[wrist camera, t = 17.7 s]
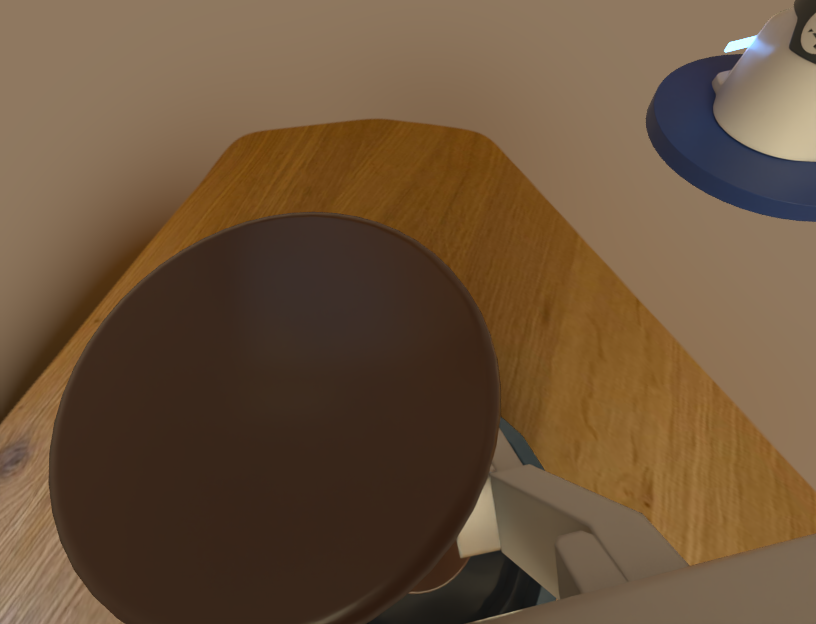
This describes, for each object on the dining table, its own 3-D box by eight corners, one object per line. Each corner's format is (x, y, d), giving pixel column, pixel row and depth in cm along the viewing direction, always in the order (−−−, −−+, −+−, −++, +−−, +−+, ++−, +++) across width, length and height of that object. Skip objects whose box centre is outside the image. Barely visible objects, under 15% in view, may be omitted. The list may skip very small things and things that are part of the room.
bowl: (460, 379, 31) (466, 347, 25) (584, 584, 24) (627, 598, 19) (279, 472, 28) (244, 458, 23) (363, 732, 21) (340, 797, 16)
